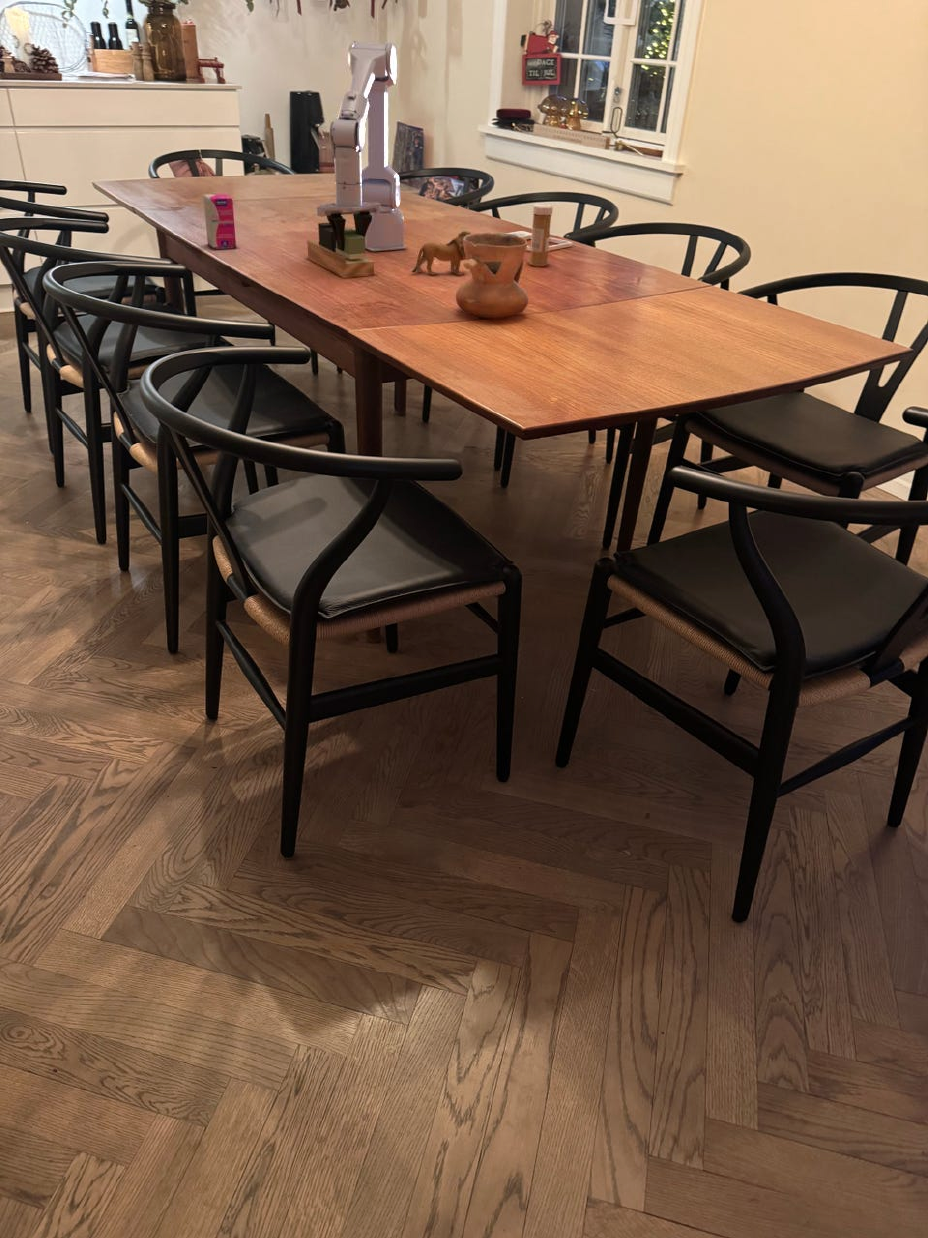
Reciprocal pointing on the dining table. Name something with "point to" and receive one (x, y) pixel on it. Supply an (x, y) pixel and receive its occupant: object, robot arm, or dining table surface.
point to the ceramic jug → (493, 275)
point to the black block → (327, 236)
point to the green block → (353, 245)
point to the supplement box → (219, 221)
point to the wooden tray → (339, 262)
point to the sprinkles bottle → (540, 234)
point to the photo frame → (561, 242)
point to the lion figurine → (443, 254)
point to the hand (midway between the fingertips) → (350, 248)
